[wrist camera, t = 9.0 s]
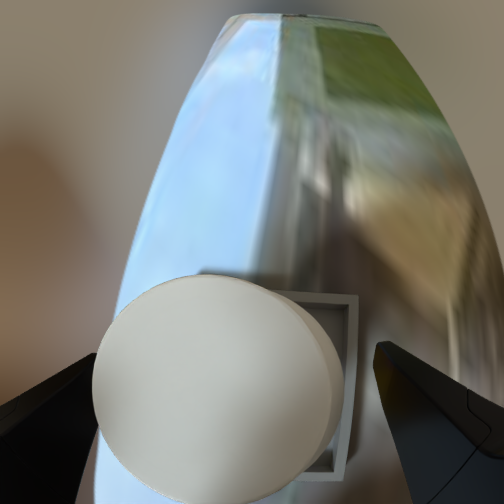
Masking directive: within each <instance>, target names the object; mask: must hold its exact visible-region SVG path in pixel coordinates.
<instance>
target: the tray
mask: <svg viewBox="0 0 504 504" xmlns="http://www.w3.org/2000/svg"><path fill="white" fill-rule="evenodd" d="M267 290H269V291H272V292H275V293H277V294H280V295H282V296H284V297H286V298H288V299H289V300H291V301H293V302H294V303H296V304H298V305H299V306H300V307H302V308H303V309H304V310H305V311H307V312H308V313H309V314H310V315H311V316H312V317H313V318H314V319H315V320H316V321H317V322H318V323H319V324H320V325H321V327H322V328H323V329H324V331H325V332H326V334H327V335H328V336H329V338H330V339H331V341H332V343H333V345H334V347H335V349H336V352H337V354H338V357H339V360H340V363H341V366H342V372H343V378H344V404H343V410H342V414H341V418H340V422H339V424H338V427H337V430H336V432H335V434H334V436H333V438H332V440H331V441H330V443H329V445H328V446H327V448H326V449H325V450H324V451H323V453H322V454H321V455H320V456H319V458H318V459H317V460H316V461H315V462H314V463H313V464H312V465H311V466H310V467H309V468H308V469H306V470H305V471H304V472H302V473H301V474H300V475H298V476H297V477H296V478H295V479H294V480H293V481H343V477H344V471H345V466H346V459H347V453H348V446H349V439H350V431H351V423H352V415H353V405H354V394H355V382H356V368H357V350H358V318H359V295H349V294H331V293H314V292H299V291H284V290H271V289H267Z"/></svg>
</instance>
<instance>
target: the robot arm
mask: <svg viewBox="0 0 504 504" xmlns="http://www.w3.org/2000/svg"><path fill="white" fill-rule="evenodd" d="M96 356H97V353H91V354H89V355H87V356H86V357H84V358H82V359H81V360H79V361H77V362H75V363H74V364H72V365H70V366H69V367H67V368H65V369H63V370H62V371H60V372H58V373H57V374H55V375H53V376H52V377H50V378H48V379H46V380H45V381H43V382H41V383H40V384H38V385H36V386H34V387H33V388H31V389H29V390H28V391H26V392H24V393H22V394H21V395H20V396H17V397H15V398H14V399H12V400H10V401H8V402H7V403H5V404H3V405H1V406H0V504H75V502H76V498H77V494H78V491H79V487H80V483H81V480H82V476H83V473H84V469H85V466H86V463H87V459H88V456H89V453H90V449H91V446H92V443H93V440H94V437H95V434H96V431H97V428H98V425H99V424H98V421H97V418H96V415H95V410H94V404H93V396H92V378H93V370H94V363H95V360H96ZM373 369H374V373H375V378H376V382H377V386H378V390H379V395H380V399H381V403H382V407H383V410H384V414H385V416H386V419H387V422H388V425H389V428H390V431H391V434H392V437H393V440H394V442H395V446H396V449H397V452H398V455H399V458H400V461H401V464H402V467H403V471H404V474H405V477H406V480H407V484H408V487H409V491H410V494H411V498H412V501H413V504H504V408H503V407H501V406H499V405H497V404H495V403H493V402H491V401H489V400H487V399H485V398H483V397H482V396H480V395H478V394H476V393H475V392H473V391H472V390H470V389H467V388H466V387H465V386H463V385H462V384H460V383H458V382H457V381H455V380H453V379H452V378H450V377H448V376H447V375H445V374H443V373H442V372H440V371H439V370H437V369H435V368H434V367H432V366H430V365H429V364H427V363H425V362H424V361H422V360H420V359H419V358H417V357H416V356H414V355H412V354H411V353H409V352H407V351H406V350H404V349H402V348H401V347H399V346H398V345H396V344H394V343H393V342H391V341H383V342H378V343H377V345H376V349H375V355H374V360H373Z"/></svg>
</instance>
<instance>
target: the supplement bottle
mask: <svg viewBox="0 0 504 504" xmlns="http://www.w3.org/2000/svg"><path fill="white" fill-rule="evenodd" d="M92 396H93V404H94V410H95V415H96V418H97V421H98V424H99V427H100V429H101V432H102V434H103V437H104V439H105V441H106V442H107V444H108V446H109V448H110V449H111V451H112V452H113V454H114V455H115V456H116V458H117V459H118V460H119V462H120V463H121V464H122V465H123V466H124V467H125V469H126V470H127V471H129V472H130V473H131V474H132V475H133V476H134V477H135V478H137V479H138V480H139V481H140V482H142V483H143V484H144V485H146V486H147V487H149V488H150V489H152V490H154V491H156V492H157V493H159V494H161V495H163V496H165V497H168V498H170V499H172V500H175V501H178V502H181V503H185V504H247V503H251V502H254V501H258V500H261V499H263V498H265V497H267V496H269V495H271V494H273V493H275V492H277V491H279V490H281V489H282V488H283V487H285V486H286V485H288V484H289V483H290V482H292V481H293V480H294V479H295V478H296V477H297V476H298V475H300V474H301V473H302V472H304V471H305V470H306V469H308V468H309V467H310V466H311V465H312V464H313V463H314V462H315V461H316V460H317V459H318V458H319V456H320V455H321V454H322V453H323V451H324V450H325V449H326V448H327V446H328V445H329V443H330V441H331V440H332V438H333V436H334V434H335V432H336V430H337V427H338V424H339V422H340V418H341V414H342V410H343V404H344V378H343V372H342V366H341V363H340V360H339V357H338V354H337V352H336V349H335V347H334V345H333V343H332V341H331V339H330V338H329V336H328V335H327V334H326V332H325V331H324V329H323V328H322V327H321V325H320V324H319V323H318V322H317V321H316V320H315V319H314V318H313V317H312V316H311V315H310V314H309V313H308V312H307V311H305V310H304V309H303V308H302V307H300V306H299V305H298V304H296V303H294V302H293V301H291V300H289V299H288V298H286V297H284V296H282V295H280V294H277V293H275V292H272V291H269V290H267V289H265V288H263V287H261V286H258V285H256V284H254V283H251V282H249V281H246V280H242V279H238V278H234V277H230V276H224V275H213V274H201V275H192V276H185V277H180V278H176V279H173V280H170V281H167V282H164V283H162V284H159V285H157V286H155V287H153V288H151V289H150V290H148V291H146V292H144V293H143V294H141V295H140V296H139V297H137V298H136V299H135V300H133V301H132V302H131V303H130V304H128V305H127V306H126V307H125V308H124V309H123V310H122V311H121V312H120V314H119V315H118V316H117V317H116V319H115V320H114V321H113V323H112V324H111V326H110V327H109V329H108V330H107V332H106V334H105V336H104V338H103V340H102V342H101V345H100V347H99V350H98V353H97V356H96V360H95V363H94V370H93V378H92Z"/></svg>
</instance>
